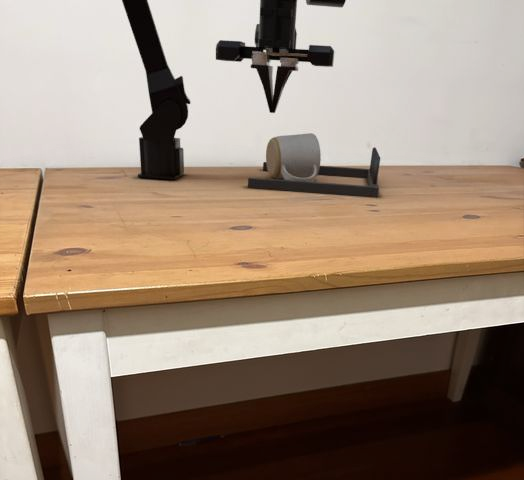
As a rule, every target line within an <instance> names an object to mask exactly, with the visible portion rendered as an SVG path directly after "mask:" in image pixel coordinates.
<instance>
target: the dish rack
mask: <svg viewBox="0 0 524 480" xmlns="http://www.w3.org/2000/svg"><path fill="white" fill-rule="evenodd" d="M380 163H381V156H380V154H379V152H378V150H377V148H376V147H375V146H374V147H372V150H371V158H370V163H369V168H361V167H345V166H331V165H320V168H319V172H318V174H317V175H318V176H319V175H320V176H321V175H322V176H335V177H337V176H338V177H349V178H350V177H351V178H365V179H367V183H368V185H364V184H361V185H360V184H348V183H332V182H320V181H314V182H308V181H293V180H279V179H274V178H263V177H247V188H248V189H258V190H274V191H287V192H299V193H300V192H302V193H315V194H326V195H327V194H330V195H343V196H355V197H356V196H357V197H369V198H378V196H379V189H380V188H379V184H378V177H379V171H380ZM262 171H264V172H268V169H267V164H266V161H263V163H262Z"/></svg>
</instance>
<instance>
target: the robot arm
mask: <svg viewBox="0 0 524 480" xmlns="http://www.w3.org/2000/svg"><path fill="white" fill-rule="evenodd" d="M346 1H347V0H305V3H306V5H307V6H316V7H317V6H318V7H327V8H328V7H330V8H343V7H344V6H345V4H346ZM121 2H122V5H123V9H124V11H125V14H126V17H127V20H128V23H129V26H130V29H131V31H132V35H133V37H134V41H135V45H136V46H137V49H138V52H139V55H140V58H141V62H142V65H143V67H144V70H145V76H146V77H145V78H146V83H147V89H148V90H147V91H148V97H149V104H150V108H151V114H149V116H148V117H147V118H146V119H145V120H144V121H143V122H142V123H141V125H140V126H139V132H140V134H141V137H139V138H138V143H139V144H138V146H139V161H140V173H137V177H138V178H145V179H157V180H158V179H159V180H172V181H173V180H176V179H178V178H180V177H181V176H183V175H184V174H185V163H184V162H185V157H184V156H185V155H184V153H185V152H184V148H183V147H181V137H175V136H176V132H177V131H178V130H179V129H181V128H183V126H184V125H185V124H186V122H187V120H188V118H189V106H188V105H191V99H190V98H189V96H188V95H187V92H186V89H185V82H184V76H183V75H180V76H178V77H176V78H175V76H174V74H173V72H172V70H171V68H170V66H169V64H168V60H167V57H166V55H165V51H164V48H163V45H162V42H161V38H160V36H159V33H158V29H157V26H156V23H155V19H154V17H153V16H154V15H153V13H152V11H151V7H150V4H149V0H121ZM297 9H298V0H260V2H259V23H256V24H255V25H256V26H255V30H254V44H255V45H254V46H248V45H246V42H245V41H244V42H243V41H241V40H221V39H220V40H218V41H217V43H216V44H215V60H216V61H221V62H237V63H242V62H243V60H244V59H245V60H246V59H247V60H251V64H250V69H255V70H256V72H257V74H258V77H259V79H260V82H261V84H262V88H263V91H264V94H265V99H266V103H267V107H268V111H269V113H270V114H275V113H276V111H277V108H278V106H279V103H280V100H281V97H282V95H283V91H284V89H285V85H286V84H287V82H288V80H289V78H290V77H291V74H292V72H298V71H299V67H298V65H300V63H310V64H311V66H313V67H325V68H333V67H334V59H335V50H334V49H333V47H332V46H331V45H319V44H318V45H316V44H309V45H308V49H303V48H302V49H301V48H297V38H298V37H297V35H298V34H297V28H296V21H297ZM272 61H279V63H280V65H277V67H276V73H275V74H276V75H275V81H273V72H274V71H273V70H274V66H273V65H270V63H271V62H272ZM273 82H275V83H274V84H273Z"/></svg>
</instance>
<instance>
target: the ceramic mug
mask: <svg viewBox="0 0 524 480" xmlns="http://www.w3.org/2000/svg"><path fill="white" fill-rule="evenodd" d="M321 153H322V152H321V146H320V142H319V140H318V137H317V135H316V134H314V133H313V132H312V133H311V132H310V133H297V134H286V135H278V136H274V137H272V138H270V139H269V141H268V143H267V144H266V150H265V162H266V164H267V169H268V171H267V172H268V175H269V176H270V177H271V179H279V180H293V181H308V182H316V178H317V177H318V175H319V174H318V172H319V168H320V166H321V159H322V157H321V156H322V154H321Z"/></svg>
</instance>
